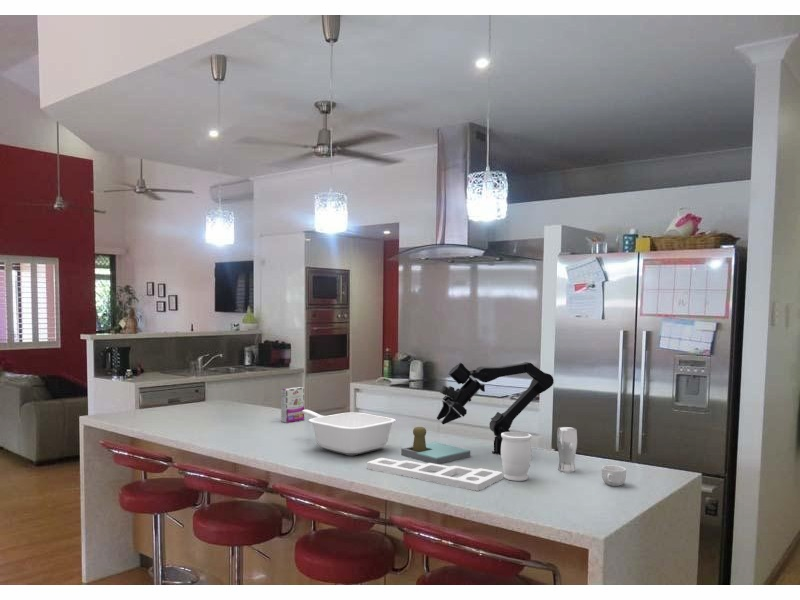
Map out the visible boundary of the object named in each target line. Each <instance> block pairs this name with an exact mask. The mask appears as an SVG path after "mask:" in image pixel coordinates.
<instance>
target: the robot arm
mask: <svg viewBox="0 0 800 600" xmlns="http://www.w3.org/2000/svg"><path fill="white" fill-rule="evenodd" d="M521 374H527V375H529V377H531V378H532V379H531V382H530V384H529V386H528V387H527V389H526V390H525V391H524V392H523V393H522V394H521V395H520V396H519V397H518V398H517V399H516V400H515V401H514V402H513V403H512V404H511V405H510V406H509V407H508V408H507V409H506V410H505V411H504V412H501V413H500V412H499V411H497V412H496V413H495V415H494V416H493V417H491V418H490V421H489V430H490V431H492V433H493V435H494V440H493V450H492V451H491V454H495V453H496V454H495V455H499V454H500V456H501V443H502V439H503V438H502V437H501V433H503V432H511V431H510V428H511V426H512V424H513V422H514V420H515V419H516V418H517V417H518V416H519V415H520V413H522V411H524V410H525V409H526V407H527V406H529V405H530V403H531V402H532V401H533V400H534V399H535V398H536V397H537V396H538V395H540V394H542V393H544V392H545V391H547V390H549V389H550V388H551V387H552V386H553V385H554V384H555V383H554V377H553V375H552V374H550V373H546V372H544V371H543V370H541V369H540V368H538V367H537V366H535V365H534V363H531V362H529V361H524V362H520V363H514V364H509V365H502V366H483V365H481V366H478V367H477V368H476V369H473V370H469V369H468V368H467V367H466V366H465V365H464V364H463V363H462V362H459V363H458V364H456V365H455V366H453V367H452V368H451V369H450V370H449V372H448V375H449V377H450V378H452V380H454V381H455V382H456V383H457V384H458V385H460V384H462V386H461V387H460V388H456V389H455V387H453V386H451V385H450V386H446V385H444V384H442V387H441V389H440V391H439V393H440V394H441V395H443V398H442V401H441V403H442V406H441V409H440V411H439V413H438V414H437V416H436V419H437V421H440V420H441V419H442V421H441V422H440V423H441V424H442V425H445V424H448V423H450V422H452V421H454V420H457V419H461V418H462V417H463V418H464V417H465V416H466V415H467V410H468V409H466V408H465V406H466V404H467V403H468V402H471V401H472V398H473V397H474V396H475V394H477V392H479V390H480V391H481V392H483V393H485V391H486V390H485V387H486V385H485V383H489V382H491V381H495V380H496V379H498V378H501V377H508V376H509V377H510V376H515V375H521ZM473 378H474V379H473ZM479 381H480V382H482V383H480V382H479ZM483 383H484V384H483Z"/></svg>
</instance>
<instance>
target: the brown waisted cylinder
mask: <svg viewBox="0 0 800 600" xmlns="http://www.w3.org/2000/svg"><path fill="white" fill-rule="evenodd" d="M412 433H413V436H414V437H413V442H412V443H413V444H412V446H413V449H412V451H416V452H423V451H426V444H427V443H426V434H427V429H426V427H422V426H417V427H414V428H413V430H412Z"/></svg>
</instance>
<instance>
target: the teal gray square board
mask: <svg viewBox="0 0 800 600" xmlns="http://www.w3.org/2000/svg"><path fill="white" fill-rule="evenodd" d="M412 449H413V445H412V446H406V447H403V448H401V449H400V451H401V452H400V453H401V456H403V457H407V458H410V457H411V459H415V460H419V461H422V462H426V463H434V464H439V465H442V464H445V463H449V462H453V460H454V461H457V460H462V459H466V458H470V457H471V450H470V449H468V448H463V447H460V446H459V447H458V446H456V445H455V446H454V445H451V444H446V443H441V442H439V441H438V442H437V441H433V442H427V443H426V451H423V452H416V451H412ZM469 456H470V457H469Z"/></svg>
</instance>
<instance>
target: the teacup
mask: <svg viewBox="0 0 800 600" xmlns="http://www.w3.org/2000/svg"><path fill="white" fill-rule="evenodd" d="M601 478H602V480H603V482H604V483H605V484H606V485H608V484H609V485H608V486H610V485H614V486H613V487H620V486H619V485H621V486H622V485H624V484H625V481H626V480H627V479H626V478H627V468H626V467H624V466H622V465H621V466H619V465H616V464H615V465H611V464H607V465H602V467H601Z"/></svg>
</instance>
